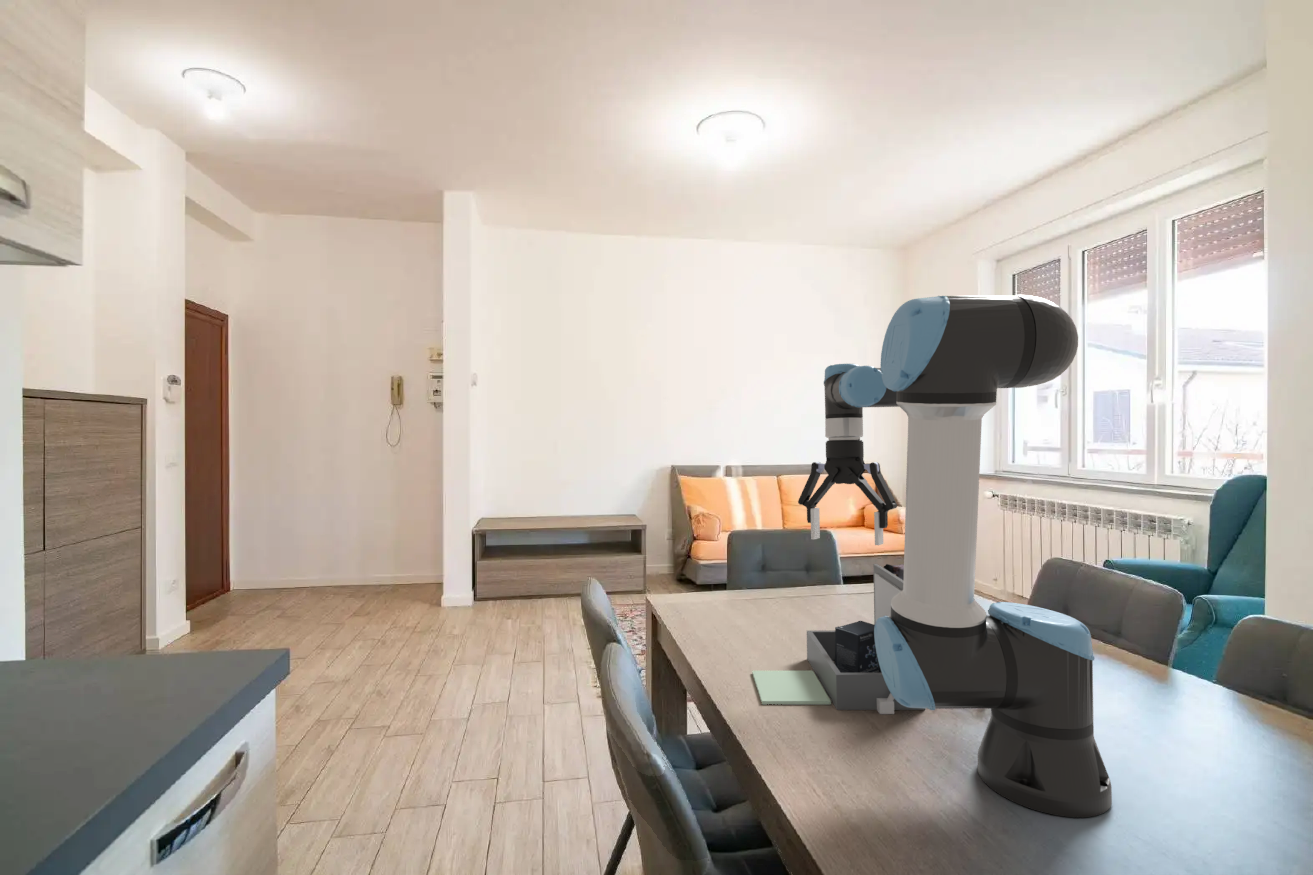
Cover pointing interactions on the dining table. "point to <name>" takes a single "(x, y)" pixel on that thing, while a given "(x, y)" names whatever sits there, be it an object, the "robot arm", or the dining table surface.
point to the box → (856, 648)
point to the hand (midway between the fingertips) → (846, 541)
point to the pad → (790, 688)
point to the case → (856, 687)
